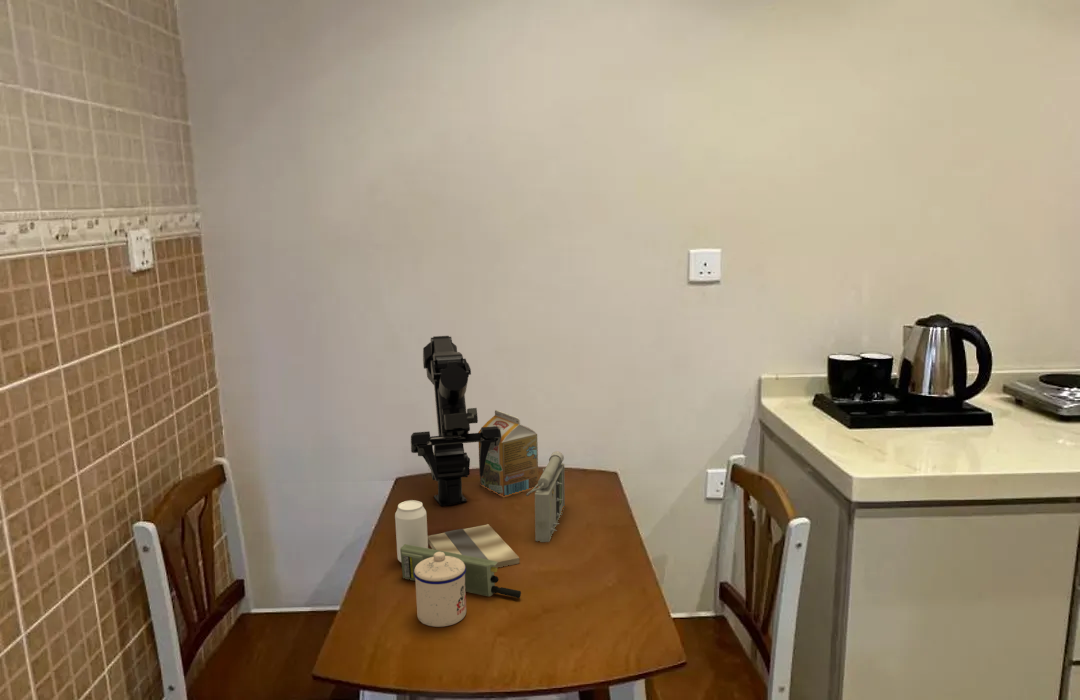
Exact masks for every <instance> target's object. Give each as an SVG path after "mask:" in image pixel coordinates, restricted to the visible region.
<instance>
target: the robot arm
mask: <svg viewBox="0 0 1080 700" xmlns="http://www.w3.org/2000/svg"><path fill="white" fill-rule="evenodd" d="M422 363H423V365H422V366H423V369H426V376H427V377H426V378H427V379H428V380H429V381H430V382H431V384H432V386H433V388H434V397H435V398H434V399H435V402H434V403H435V411H436V412H435V413H436V422H437V423H436V424H437V433H438V434H437V435H434V436H433V435H432V436H431V433H430V431H429V430H428V431H417V432H412V434H411V435H410V452H411V454H412V453H413V454H417V457H422V458H423V459H424V460H425V462H426V464H427V466H428V467H429V469H430V472H431V473H430V475H431V478H432V481H435V482H437V492H438V493H437V494H434V496H433V498H434V500H435V501H436V502H437V503H438V504H439V505H440V506H441V507H446V506H452V505H457V504H461V502H463V503H467V502H468V499H467V498H466V497H465V496H464V495H463V486H462V485H463V484H462V480H463V479H462V478H468V477H469V475H471V474H470V472H471V471H470V467H471V466H470V464H471V458H470V457H469V456H468V452H465V449H464V444H469V443H470V444H471V443H479V442H480V444H481V446H480V449H479V448H478V464H479V465H478V468H479V469H478V470H479V478H480V477H482V476H483V471H484V466H485V461H486V457H487V454H488V451H490V450H493V449H494V446H498V445H499V443H500V440H501V431H500V429H499V428H498V427H497V426H494V427H483V426H481V428H480V429H481V431H480V430H479V431H480V433H478V432H471V433H469V432H470V431H471V425H470V424H478V421H479V420H478V409H477V407H469V408H467V404H466V391H467V387H468V381H469V375H470V376H471V375H472V371H471V370H472V369H471V366H470V364H469V363H468V362H467V358H464V356H463V354H462V353H461V352H459V351H458V346H457V345H456V344H455V343H454V342H453V339H452V336H449V335H437V336H433V337H430V342H428V344H426V345H425V346H424V347H423V348H422ZM466 501H467V502H466ZM456 503H457V504H456Z"/></svg>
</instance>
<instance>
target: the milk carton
mask: <svg viewBox="0 0 1080 700" xmlns="http://www.w3.org/2000/svg"><path fill="white" fill-rule="evenodd" d="M494 426H497V427H498V428H499V429H500V431H501V440H500V443H499V445H498V446H494V449H493V450H490V451H488V454H487V457H486V461H485V466H484V471H483V476H482V477H480V476H479V485H480V484H481V485H484V486H485V487H487V488H489V489H491V490H493V491H495V492H497V493H498V494H501V495H503V496H505V495H509V494H512V493H515V492H519V491H522V490H526V489H529V488H532V487H535V486H536V485H537V484H538V481H539V456H538V455H539V451H538V450H539V449H538V448H539V446H538V443H539V442H538V433H537V432H536V431H534V430H533V429H532V428H530V427H527V426H525V425H523V424H521V419H520V418H519V417H517V416H515V415H510V414H509V413H506V412H503V411H500V410H497V409H495V410H494V415H493V416H492V417H491V418H490V419H489V420H487V421H486V423H484V425H483V426H482V427H494ZM480 431H481V428H480V429H479V431H478V432H477V433H480ZM480 446H481V444H480V442H478V450H479V449H480Z"/></svg>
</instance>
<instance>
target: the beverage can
mask: <svg viewBox="0 0 1080 700" xmlns="http://www.w3.org/2000/svg"><path fill="white" fill-rule="evenodd" d="M427 516H428V515H427V510H426V509H425V507H424V505H423V502H422V501H419V500H415V499H414V500H413V499H409V500H405V501H402V502H400V503H398V505H397V509H396V512H395V513H394V519H395V520H394V521H395V535H396V536H395V537H396V538H395V539H396V540H395V541H396V553H397V555H396V557H397V560H398V561H399V562H400V563H401V564H402V562H401V551H400V548H401V547H402V546H403V545H404V544H407V545H413V546H418V547H423V548H429V544H428V536H429V535H428V521H427V520H428V519H427V518H428V517H427Z"/></svg>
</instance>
